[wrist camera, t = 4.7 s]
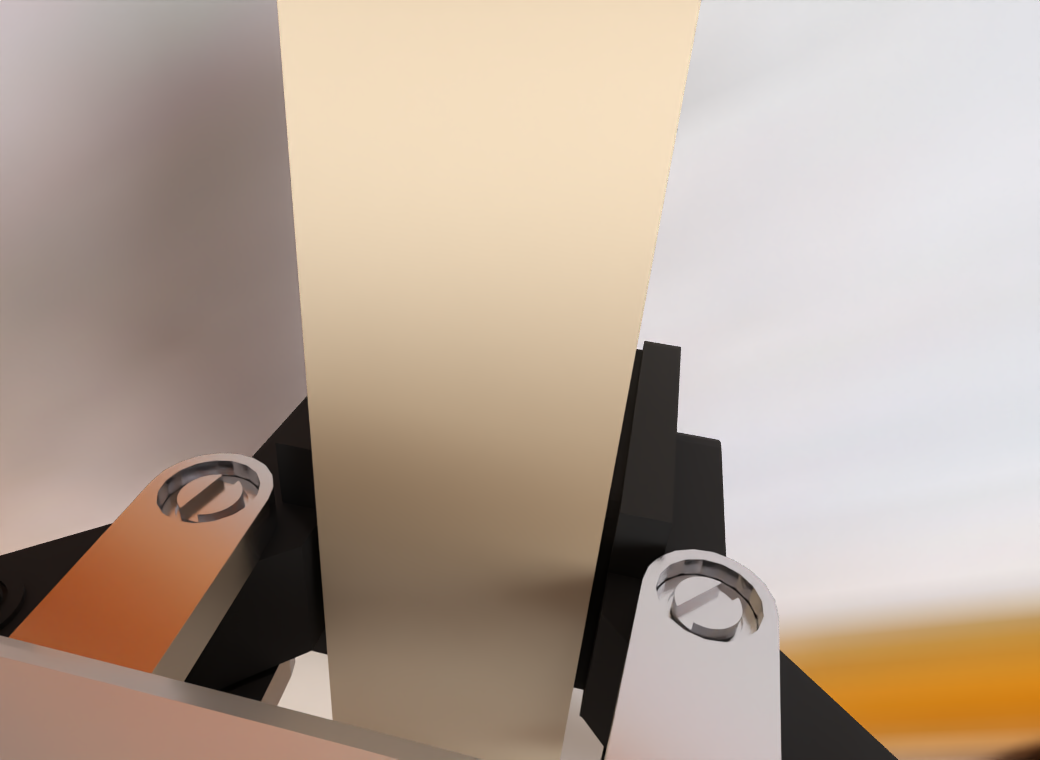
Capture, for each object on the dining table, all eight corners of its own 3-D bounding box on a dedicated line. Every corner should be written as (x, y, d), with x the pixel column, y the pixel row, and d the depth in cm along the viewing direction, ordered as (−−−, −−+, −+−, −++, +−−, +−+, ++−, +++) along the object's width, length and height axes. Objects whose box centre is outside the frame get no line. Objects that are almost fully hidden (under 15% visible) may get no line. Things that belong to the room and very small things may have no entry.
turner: (311, -160, 9) (-57, -290, 4) (918, -114, 8) (1188, -223, 3) (356, 715, 17) (244, 958, 13) (647, 791, 16) (629, 1079, 12)
